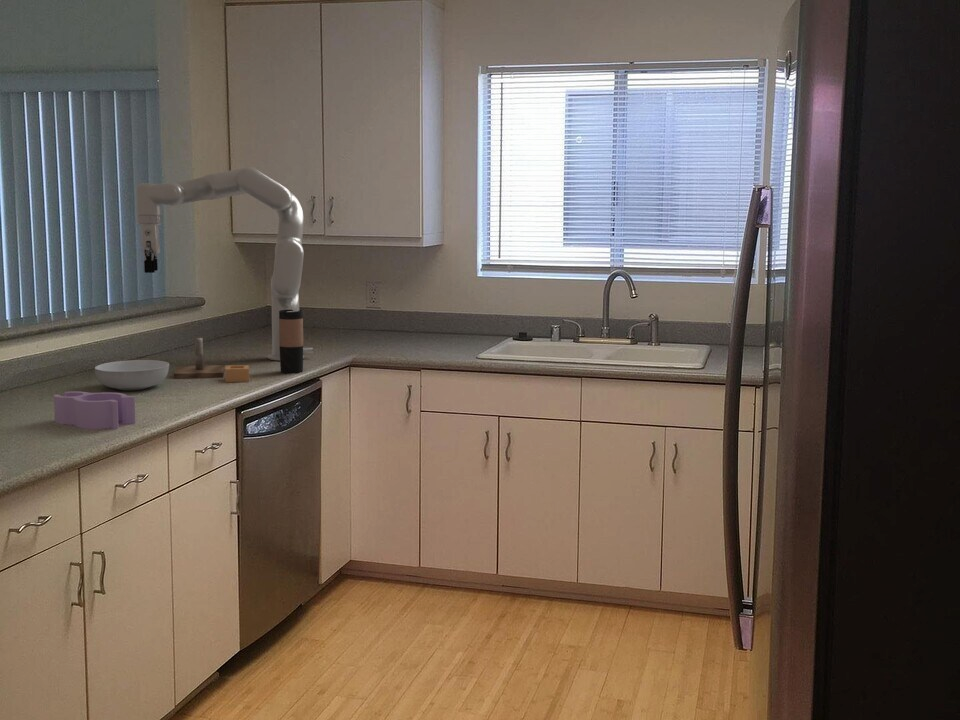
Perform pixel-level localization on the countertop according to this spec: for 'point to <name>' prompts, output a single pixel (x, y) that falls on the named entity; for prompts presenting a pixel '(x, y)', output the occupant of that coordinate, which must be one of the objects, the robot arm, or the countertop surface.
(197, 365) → the post stand
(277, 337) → the robot arm
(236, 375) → the collar
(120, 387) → the serving bowl
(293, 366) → the travel mug
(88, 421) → the clip
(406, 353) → the countertop surface
